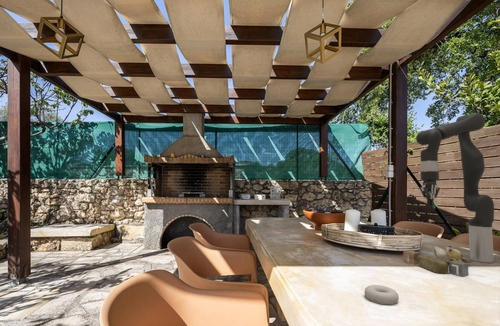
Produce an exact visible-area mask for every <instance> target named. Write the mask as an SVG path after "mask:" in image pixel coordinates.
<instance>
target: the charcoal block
mask: <svg viewBox="0 0 500 326" xmlns="http://www.w3.org/2000/svg"><path fill="white" fill-rule="evenodd" d="M448 268H449V272H448V274H449V275H453V276H456V277H460V278H464V277H468V276H469V263H464V262H459V261H455V260H454V261H450V262H449V263H448Z"/></svg>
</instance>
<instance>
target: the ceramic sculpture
mask: <svg viewBox="0 0 500 326" xmlns="http://www.w3.org/2000/svg"><path fill="white" fill-rule="evenodd" d="M433 254H434V256H435V258H437V259H440V260H442V261H445V262H447V264H449V262H450V261H454V260H455V261H459V262H464V263H468V264H470V263H473V262H474V260H471V259H470V260H469V259H467V258H465V257H464V256H463V254H462V252H461V251H460V250H459V249H456V248H453V247H452V246H451V245H446V246H445V247H443V248H441V247H439V246H436V245H433Z"/></svg>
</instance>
